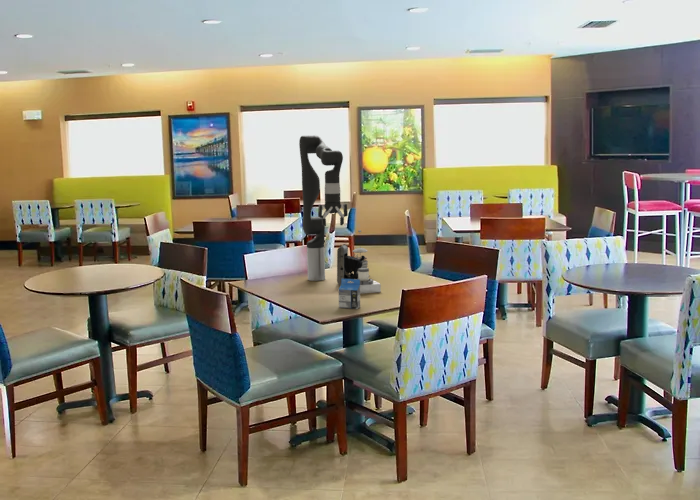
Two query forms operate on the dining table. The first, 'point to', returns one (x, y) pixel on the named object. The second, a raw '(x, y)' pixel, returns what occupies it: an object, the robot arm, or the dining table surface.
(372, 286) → the octagonal ring slab
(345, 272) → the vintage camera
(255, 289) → the dining table surface
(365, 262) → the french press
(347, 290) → the blue printed box
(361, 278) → the cream grey cylinder
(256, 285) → the dining table surface
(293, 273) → the dining table surface
